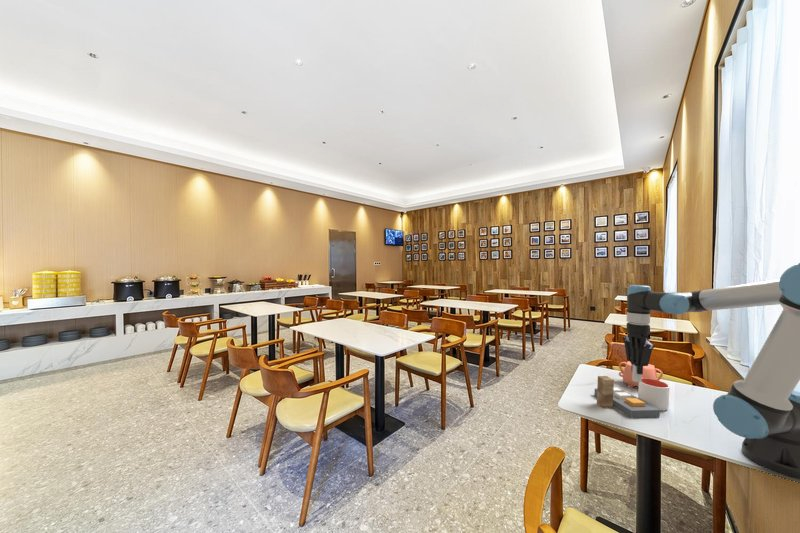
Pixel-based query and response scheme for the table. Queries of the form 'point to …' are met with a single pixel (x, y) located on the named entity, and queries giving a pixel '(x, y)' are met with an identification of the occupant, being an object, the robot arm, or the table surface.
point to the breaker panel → (628, 410)
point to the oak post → (605, 392)
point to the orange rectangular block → (634, 402)
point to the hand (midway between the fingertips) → (636, 381)
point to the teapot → (648, 373)
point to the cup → (654, 393)
